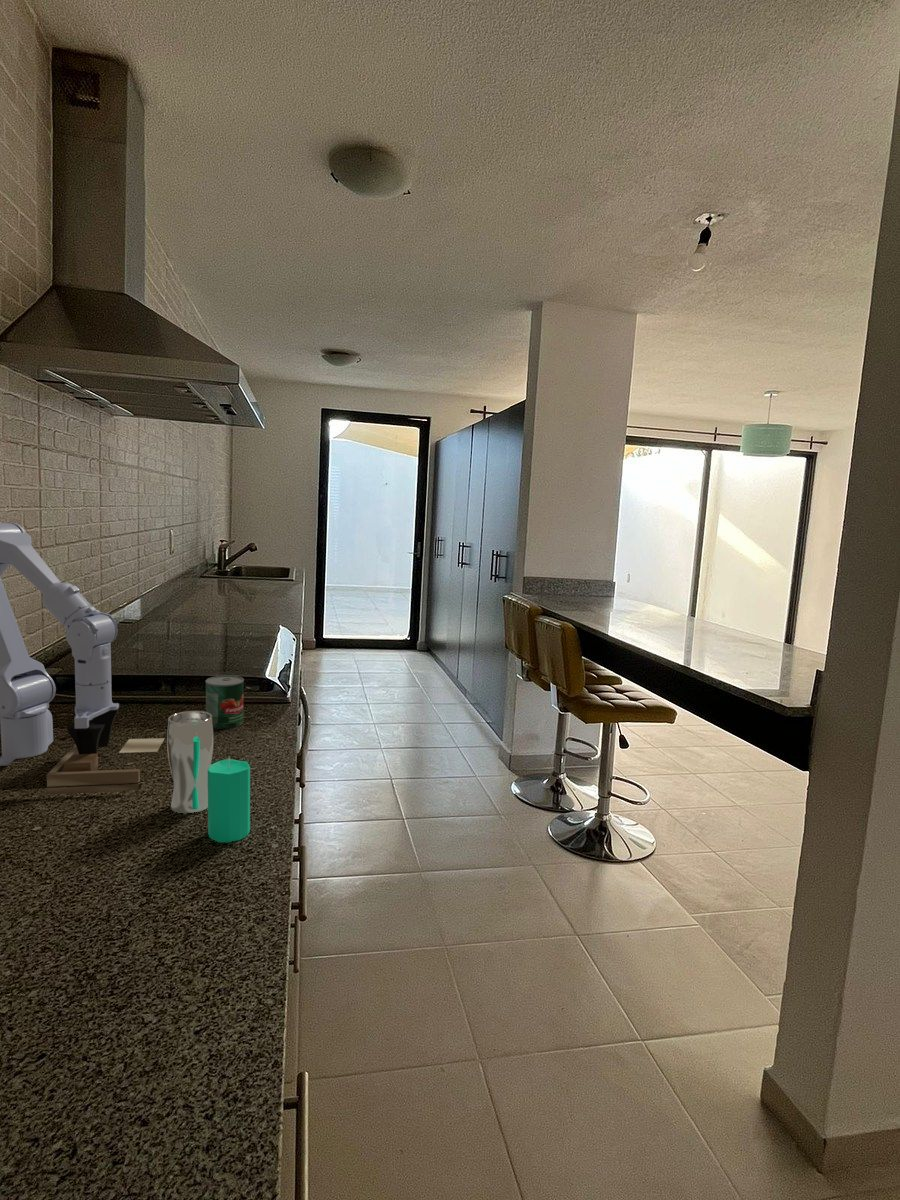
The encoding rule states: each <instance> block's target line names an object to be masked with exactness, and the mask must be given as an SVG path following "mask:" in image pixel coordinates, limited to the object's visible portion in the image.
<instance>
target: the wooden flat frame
mask: <svg viewBox="0 0 900 1200" xmlns="http://www.w3.org/2000/svg"><path fill="white" fill-rule="evenodd" d="M165 739H166V738H165V737H161V738H160V737H157V738H156V737H155V738H153V737H152V738H128V740H127V741H126V742H125V744H123V746H122V747H121V749H120V750H119V752H118V754H131V753H157V752H158V751H159V749H160V748H161V746H162V744H163V743H164V741H165ZM73 754H79V753H78V750H77V747H76V744H75V745H73V747H72V748H71V749H70V750H68V751H67V753H66V754H65V755H64V756H63V757H62V758H61V759H60V760H59V761H58V763H56V765H54V766H53V768H51V770H50V771H48V773H47V774H46V787H47V788H46V789H47V790H46V791H47V795H64V794H86V793H107V792H108V793H109V792H111V793H112V792H131V791H133V790H135V791H140V789H141V787H142V786H141V785H143V783H140V781H141V777H140V776H141V769H140V768H133V769H132V768H131V769H108V770H107V769H106V770H105V769H104V770H103V769H102V770H98V771H75V772H65V762H66V761H67V760H68V759H69V758H70V757H71V756H72V755H73ZM135 791H134V792H135Z"/></svg>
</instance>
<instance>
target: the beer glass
mask: <svg viewBox="0 0 900 1200" xmlns="http://www.w3.org/2000/svg"><path fill="white" fill-rule="evenodd" d="M166 735H167V736H166V748H167V749H166V750H167V751H166V752H167V757H168V758H167V759H168V763H169V764H168V765H169V768H170V774H171V778H172V789H173V791H172V797H171V801H170V802H171V803H170V809H171V811H173V812H174V813H176V812H177V813H176V814H180V813H183V814H182V815H188V814H187V813H192V814H195V813H196V812H197V813H200V812H203V811H206V809H207V810H208V768H209V767H210V765H211V764H212V759H213V754H214V728H213V724H212V715H211V714H210V713H208V712H206V711H202V710H187V711H180V712H177V713H174V714H172V715H170V716H169V717H168V718H167V733H166ZM194 812H195V813H194Z"/></svg>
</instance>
